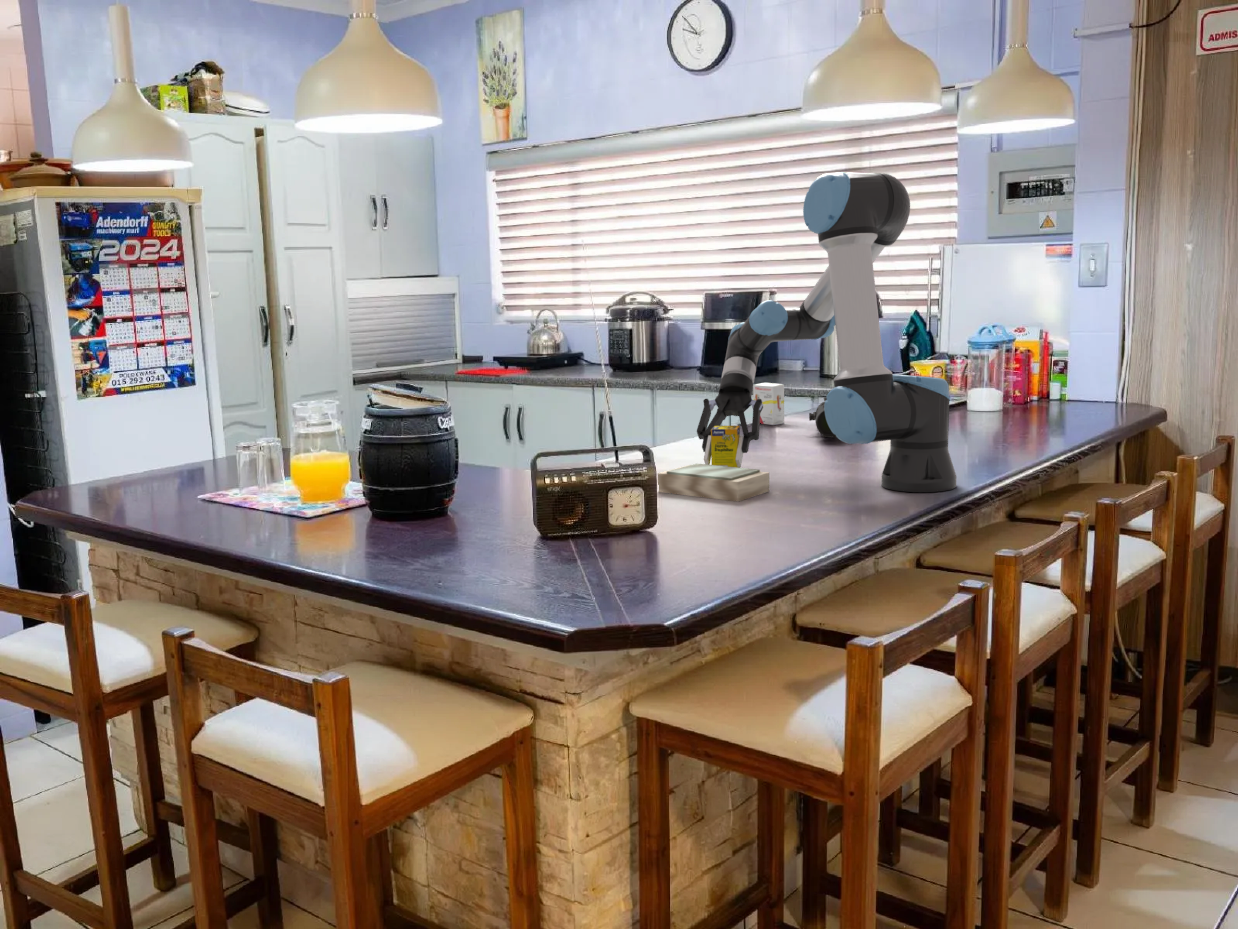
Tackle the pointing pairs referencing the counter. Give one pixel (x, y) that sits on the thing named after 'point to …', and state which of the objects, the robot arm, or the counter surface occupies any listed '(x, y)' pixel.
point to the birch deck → (714, 482)
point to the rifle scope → (821, 421)
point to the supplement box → (724, 445)
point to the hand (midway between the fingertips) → (722, 462)
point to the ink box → (770, 402)
